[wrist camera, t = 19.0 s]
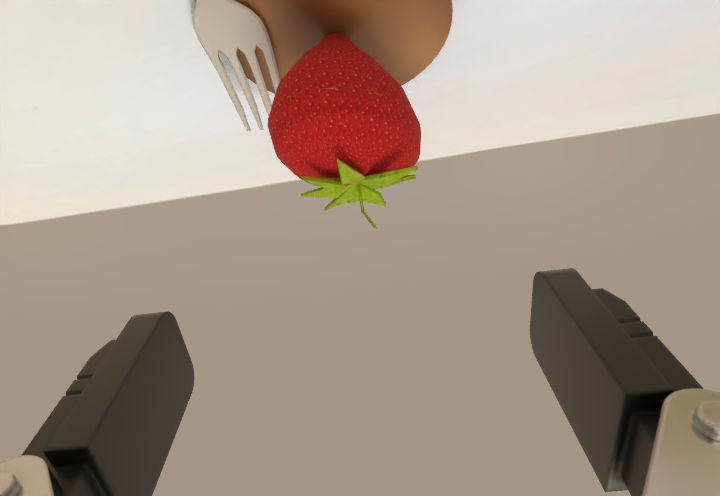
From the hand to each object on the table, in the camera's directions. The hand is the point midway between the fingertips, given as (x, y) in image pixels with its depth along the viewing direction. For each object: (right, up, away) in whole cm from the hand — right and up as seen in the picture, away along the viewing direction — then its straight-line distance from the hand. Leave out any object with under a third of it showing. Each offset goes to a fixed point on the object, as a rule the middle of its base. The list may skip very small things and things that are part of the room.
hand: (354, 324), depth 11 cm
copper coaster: (-1, +12, +12) cm, 17 cm away
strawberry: (-1, +12, +12) cm, 17 cm away
